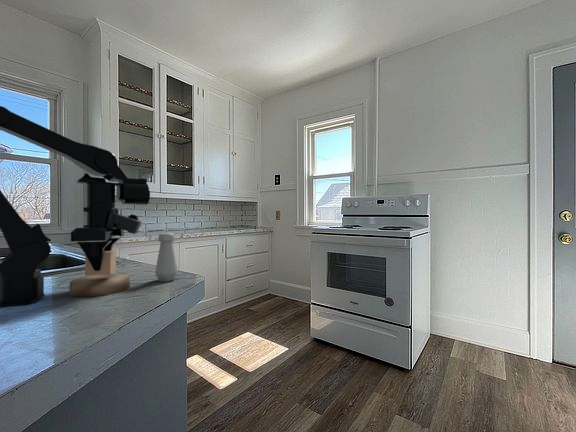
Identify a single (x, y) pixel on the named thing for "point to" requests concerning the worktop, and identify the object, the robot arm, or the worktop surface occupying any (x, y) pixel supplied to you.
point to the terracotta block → (107, 264)
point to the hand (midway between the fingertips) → (101, 268)
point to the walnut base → (99, 285)
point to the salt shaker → (166, 258)
